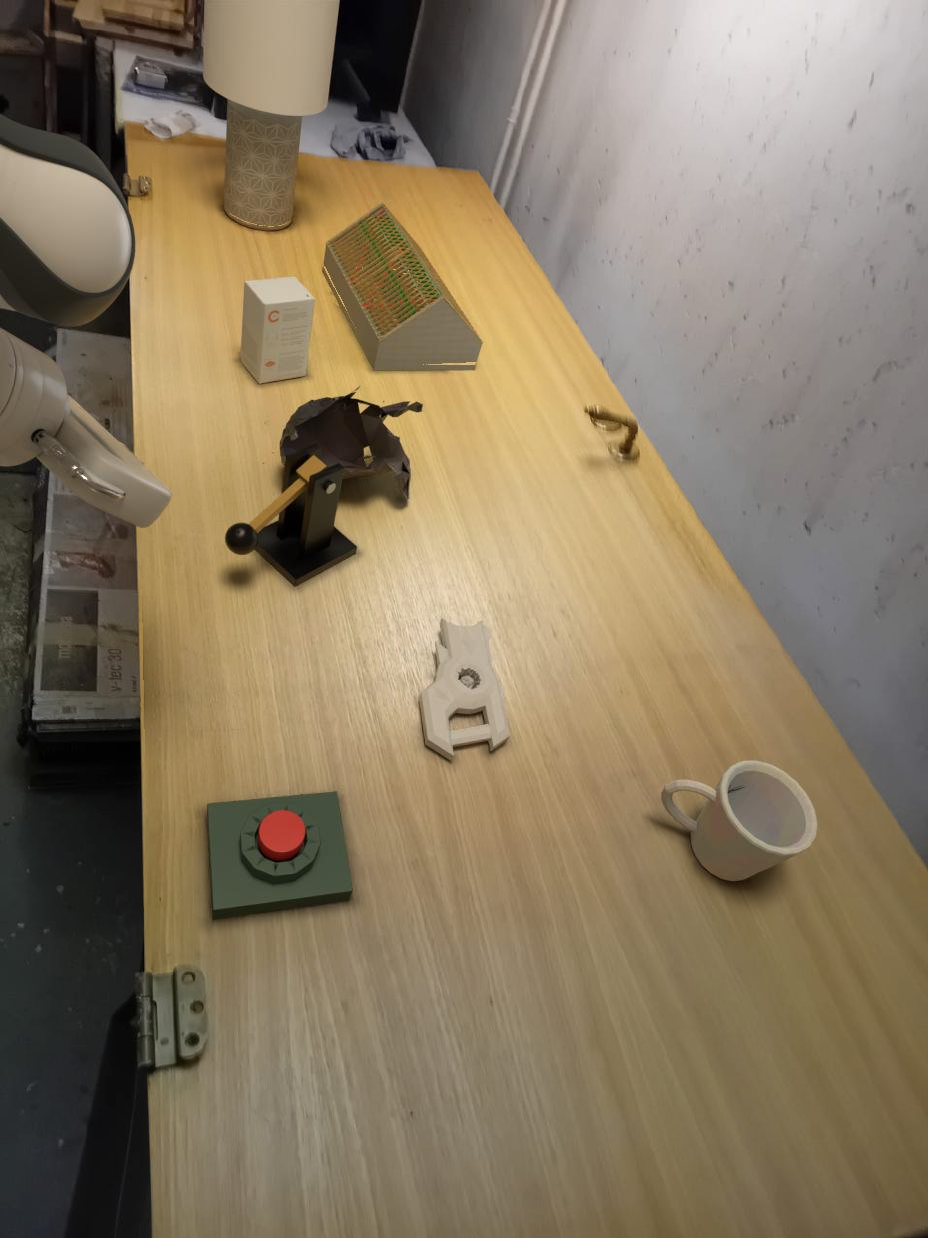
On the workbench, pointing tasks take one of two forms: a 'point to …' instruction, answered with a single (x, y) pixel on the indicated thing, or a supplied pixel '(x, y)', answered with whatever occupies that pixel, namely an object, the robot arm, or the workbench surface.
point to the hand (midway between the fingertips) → (130, 462)
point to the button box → (272, 884)
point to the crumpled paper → (350, 436)
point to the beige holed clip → (463, 691)
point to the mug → (746, 819)
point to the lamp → (267, 95)
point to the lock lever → (270, 511)
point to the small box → (276, 328)
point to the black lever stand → (307, 523)
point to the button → (281, 835)
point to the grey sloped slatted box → (397, 298)
